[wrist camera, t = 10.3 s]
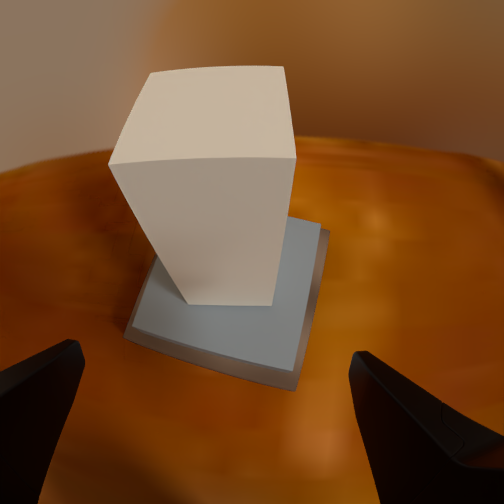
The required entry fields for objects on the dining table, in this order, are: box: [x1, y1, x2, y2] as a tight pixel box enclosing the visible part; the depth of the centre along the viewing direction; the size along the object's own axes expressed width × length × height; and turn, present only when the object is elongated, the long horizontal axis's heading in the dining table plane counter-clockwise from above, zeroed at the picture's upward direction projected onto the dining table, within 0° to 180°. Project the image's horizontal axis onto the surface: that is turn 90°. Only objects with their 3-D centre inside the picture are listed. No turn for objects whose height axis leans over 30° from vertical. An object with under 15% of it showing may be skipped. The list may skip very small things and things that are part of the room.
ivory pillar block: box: [108, 66, 296, 306], centre depth 14 cm, size 5×5×12 cm
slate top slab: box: [132, 216, 321, 373], centre depth 20 cm, size 10×10×2 cm
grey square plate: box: [123, 228, 330, 391], centre depth 22 cm, size 12×12×2 cm
